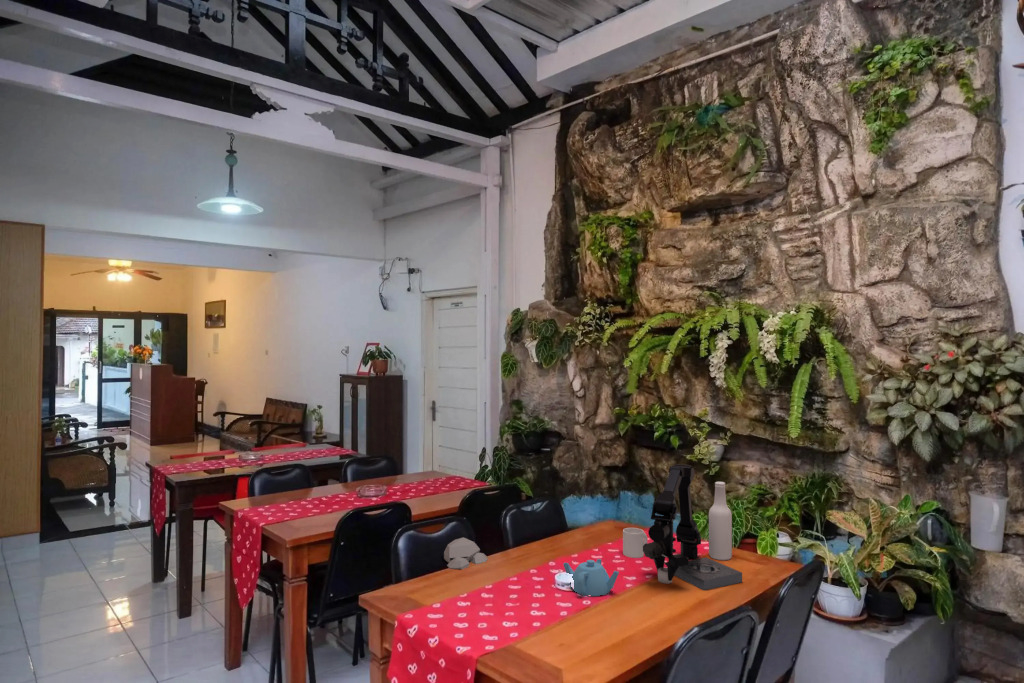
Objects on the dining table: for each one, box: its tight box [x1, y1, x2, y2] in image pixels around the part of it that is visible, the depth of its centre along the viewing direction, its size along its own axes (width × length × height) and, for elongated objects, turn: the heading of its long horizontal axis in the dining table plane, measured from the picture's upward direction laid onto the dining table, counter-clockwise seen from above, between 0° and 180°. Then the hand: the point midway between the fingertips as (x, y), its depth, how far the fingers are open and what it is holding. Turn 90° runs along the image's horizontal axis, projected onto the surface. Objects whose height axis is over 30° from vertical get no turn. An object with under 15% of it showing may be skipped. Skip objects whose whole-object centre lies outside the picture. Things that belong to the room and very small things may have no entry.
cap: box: [657, 566, 673, 585], centre depth 223 cm, size 5×5×4 cm
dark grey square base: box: [673, 557, 743, 591], centre depth 228 cm, size 18×18×4 cm
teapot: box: [562, 558, 620, 597], centre depth 214 cm, size 15×15×11 cm
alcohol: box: [708, 481, 733, 561], centre depth 251 cm, size 9×9×30 cm
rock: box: [443, 537, 489, 570], centre depth 240 cm, size 18×20×10 cm
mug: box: [622, 527, 648, 559], centre depth 253 cm, size 12×8×10 cm
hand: (665, 578), depth 223 cm, fingers closed on cap, 5 cm apart
